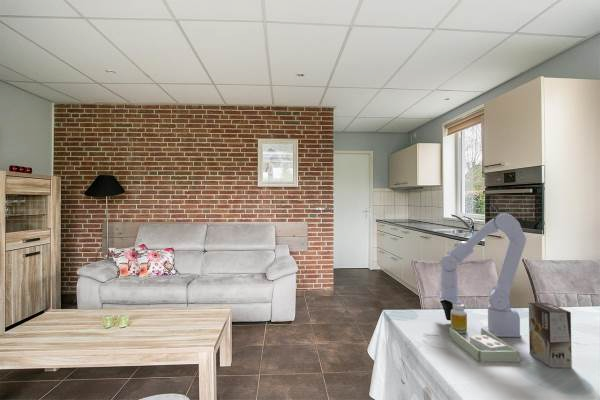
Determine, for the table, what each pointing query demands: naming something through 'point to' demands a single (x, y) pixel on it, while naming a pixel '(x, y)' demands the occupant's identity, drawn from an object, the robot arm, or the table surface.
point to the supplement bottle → (459, 318)
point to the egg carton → (487, 343)
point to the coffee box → (550, 334)
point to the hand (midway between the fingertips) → (449, 319)
